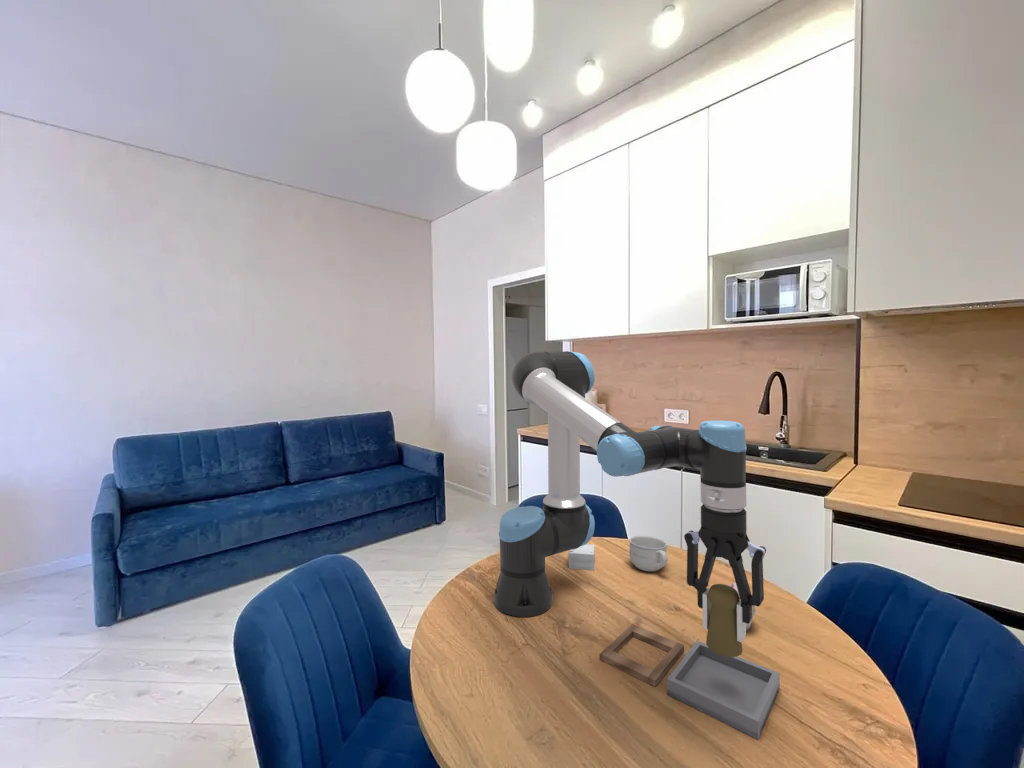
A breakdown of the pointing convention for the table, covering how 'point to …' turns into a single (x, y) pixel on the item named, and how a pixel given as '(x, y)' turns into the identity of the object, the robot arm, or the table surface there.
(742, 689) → the tray
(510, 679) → the table surface
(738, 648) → the olive bulb peg
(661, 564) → the teacup
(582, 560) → the small box
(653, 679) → the socket block
